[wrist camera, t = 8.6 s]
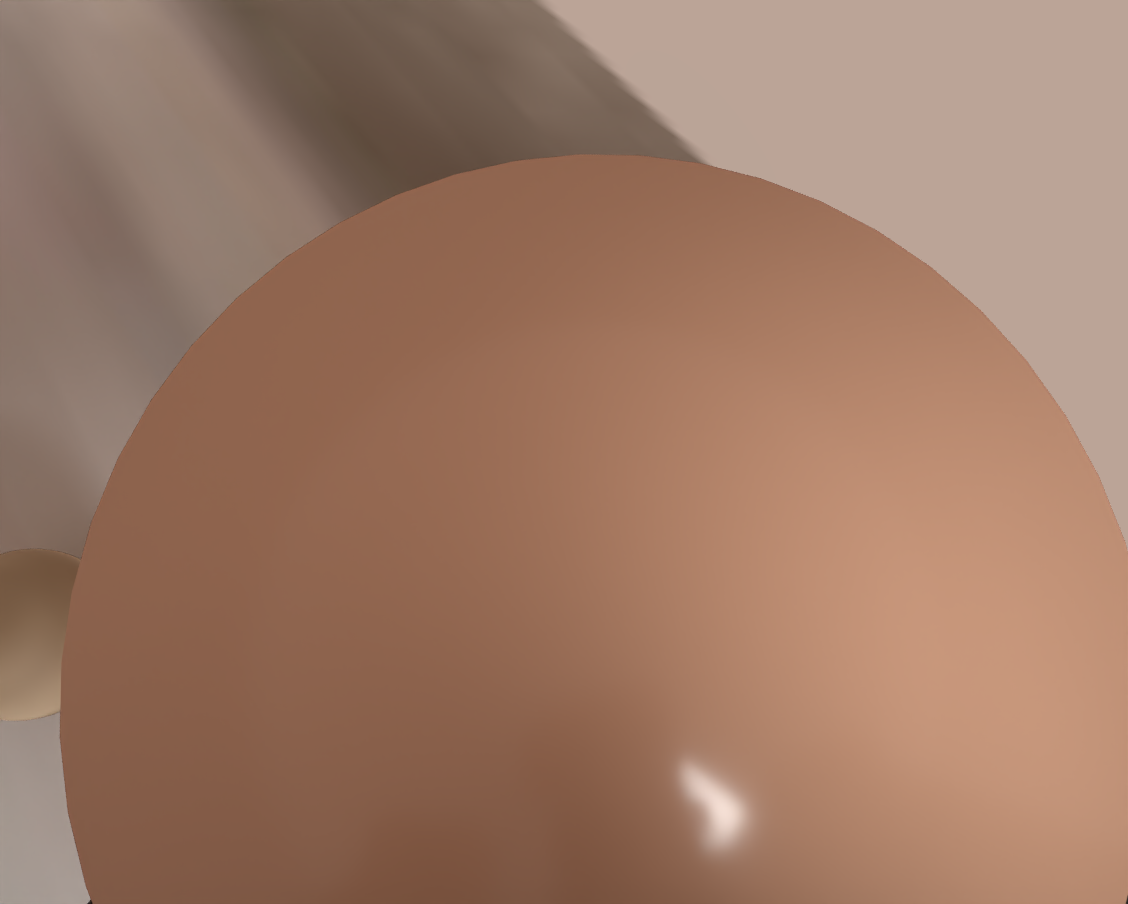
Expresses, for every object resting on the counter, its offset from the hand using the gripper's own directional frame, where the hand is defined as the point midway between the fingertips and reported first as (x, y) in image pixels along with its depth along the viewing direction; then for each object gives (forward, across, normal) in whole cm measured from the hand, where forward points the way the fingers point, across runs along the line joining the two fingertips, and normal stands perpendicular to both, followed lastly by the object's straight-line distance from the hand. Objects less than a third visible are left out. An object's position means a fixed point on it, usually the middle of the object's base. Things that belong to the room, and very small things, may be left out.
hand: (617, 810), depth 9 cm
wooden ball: (+9, +10, +3) cm, 13 cm away
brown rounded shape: (+7, 0, +4) cm, 8 cm away
